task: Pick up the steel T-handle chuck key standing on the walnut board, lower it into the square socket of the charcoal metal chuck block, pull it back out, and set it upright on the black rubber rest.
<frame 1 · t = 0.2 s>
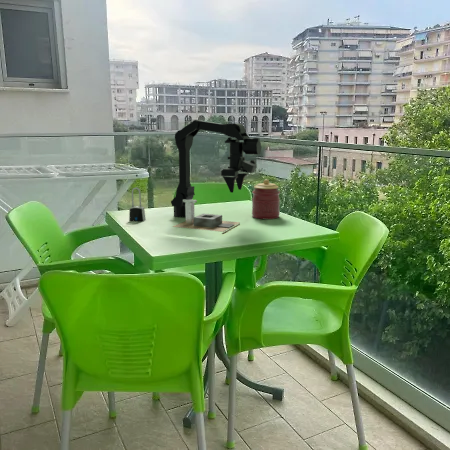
hand: (235, 190, 179), 14 cm above the table, tool pointing down, fingers open, 9 cm apart
chuck key: (190, 222, 179), point 1 cm above the table, touching chuck stand
padlock: (137, 220, 188), on the table
chuck stand: (207, 226, 176), on the table
canister: (265, 217, 195), on the table
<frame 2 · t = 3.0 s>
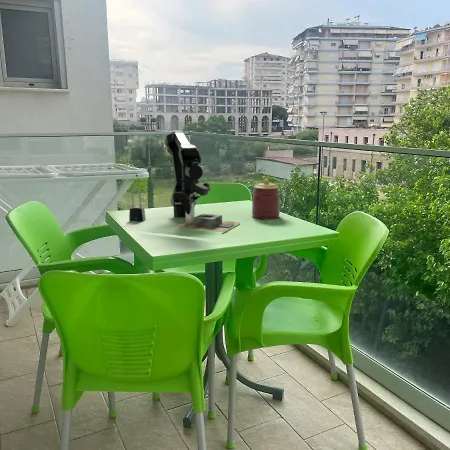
hand: (190, 213, 178), 5 cm above the table, tool pointing down, fingers closed on chuck key, 3 cm apart
chuck key: (190, 222, 179), point 1 cm above the table, touching chuck stand, gripper
everything else where it was.
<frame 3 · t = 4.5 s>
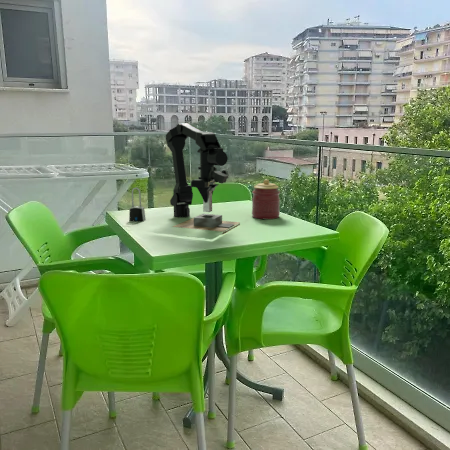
hand: (207, 202, 173), 11 cm above the table, tool pointing down, fingers closed on chuck key, 3 cm apart
chuck key: (207, 211, 174), point 7 cm above the table, touching gripper
everything else where it was.
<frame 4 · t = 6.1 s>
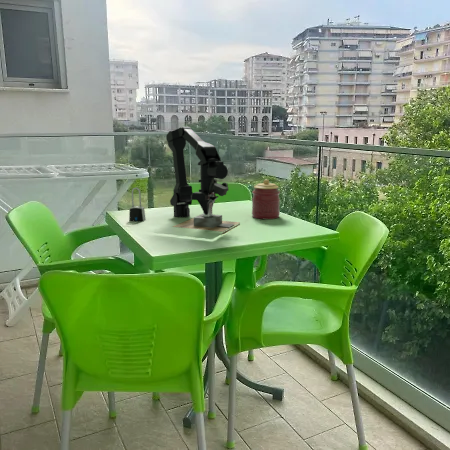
hand: (207, 214, 174), 5 cm above the table, tool pointing down, fingers closed on chuck key, 3 cm apart
chuck key: (208, 223, 175), point 1 cm above the table, touching gripper
everything else where it was.
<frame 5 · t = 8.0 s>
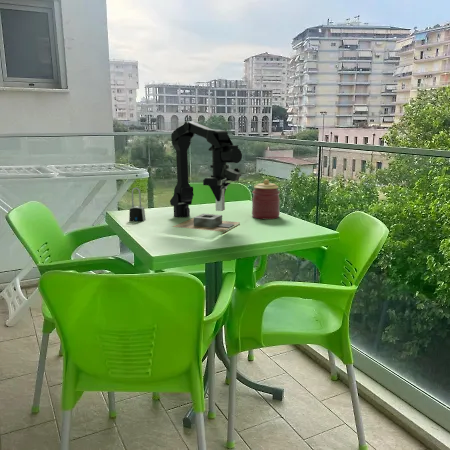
hand: (220, 200, 171), 12 cm above the table, tool pointing down, fingers closed on chuck key, 3 cm apart
chuck key: (220, 210, 171), point 8 cm above the table, touching gripper
everything else where it was.
when the fingers open (7 cm above the table, at t = 9.6 s): chuck key drops 1 cm, resting on chuck stand.
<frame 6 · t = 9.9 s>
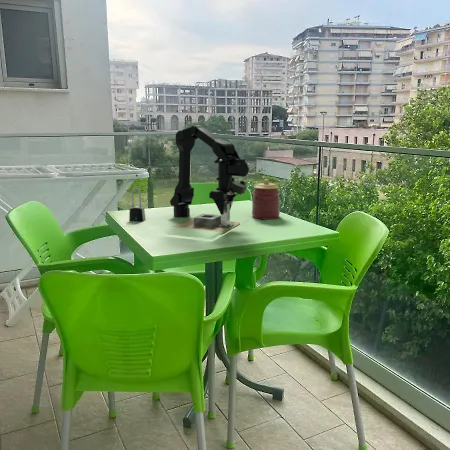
hand: (225, 212, 171), 7 cm above the table, tool pointing down, fingers open, 6 cm apart
chuck key: (225, 225, 172), point 1 cm above the table, touching chuck stand
everything else where it was.
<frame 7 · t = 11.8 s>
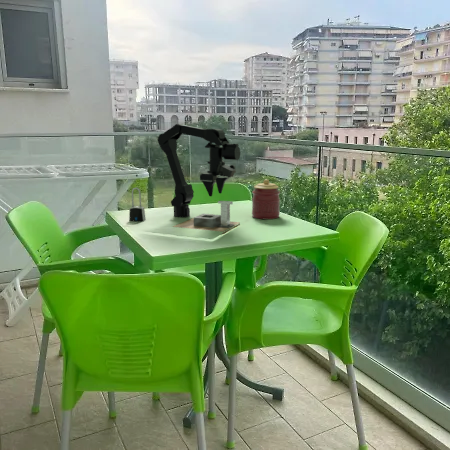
hand: (215, 194, 182), 12 cm above the table, tool pointing down, fingers open, 9 cm apart
nothing on the table moved.
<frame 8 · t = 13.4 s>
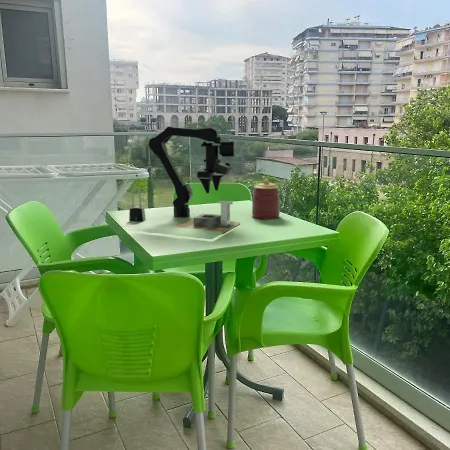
hand: (212, 191, 188), 13 cm above the table, tool pointing down, fingers open, 9 cm apart
nothing on the table moved.
at the end: chuck key 0.0 cm from the target spot on the chuck stand, point 1.4 cm above the chuck stand's base; chuck key tilted 0°; the gripper is holding nothing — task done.
